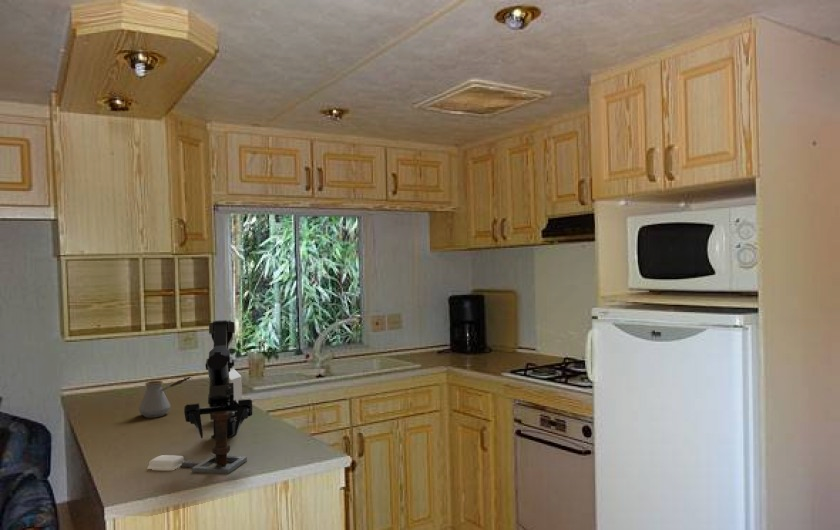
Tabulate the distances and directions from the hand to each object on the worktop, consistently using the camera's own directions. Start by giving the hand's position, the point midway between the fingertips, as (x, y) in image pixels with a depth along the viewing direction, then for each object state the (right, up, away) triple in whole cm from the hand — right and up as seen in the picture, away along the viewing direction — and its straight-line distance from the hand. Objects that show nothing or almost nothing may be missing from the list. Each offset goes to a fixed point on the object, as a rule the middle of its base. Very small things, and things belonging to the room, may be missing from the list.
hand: (218, 435), depth 173 cm
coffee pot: (-42, -10, +65) cm, 78 cm away
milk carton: (-16, -10, +59) cm, 62 cm away
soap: (-16, -10, +3) cm, 19 cm away
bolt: (0, -9, +2) cm, 10 cm away
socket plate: (-3, -9, +2) cm, 10 cm away
